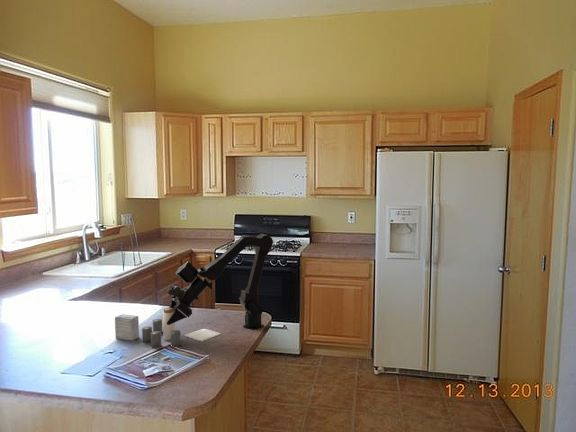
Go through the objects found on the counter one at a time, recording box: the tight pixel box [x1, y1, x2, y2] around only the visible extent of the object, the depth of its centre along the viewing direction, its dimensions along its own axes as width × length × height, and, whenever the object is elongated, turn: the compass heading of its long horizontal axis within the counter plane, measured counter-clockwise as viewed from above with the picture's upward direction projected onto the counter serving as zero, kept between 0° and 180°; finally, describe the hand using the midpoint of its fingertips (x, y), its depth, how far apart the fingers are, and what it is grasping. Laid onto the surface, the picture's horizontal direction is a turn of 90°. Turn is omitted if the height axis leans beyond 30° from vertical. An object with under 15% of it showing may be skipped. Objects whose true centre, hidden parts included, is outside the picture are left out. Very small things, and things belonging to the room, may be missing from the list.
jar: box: [162, 307, 176, 341], centre depth 163 cm, size 4×4×12 cm
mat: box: [184, 328, 221, 342], centre depth 166 cm, size 10×10×1 cm
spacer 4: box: [170, 329, 182, 348], centre depth 156 cm, size 4×4×5 cm
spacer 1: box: [141, 326, 153, 344], centre depth 160 cm, size 4×4×5 cm
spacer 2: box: [152, 318, 163, 334], centre depth 169 cm, size 4×4×5 cm
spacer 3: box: [150, 331, 162, 349], centre depth 155 cm, size 4×4×5 cm
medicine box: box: [114, 313, 140, 341], centre depth 163 cm, size 8×4×9 cm, turn 71°
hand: (165, 320), depth 162 cm, fingers open, 9 cm apart
